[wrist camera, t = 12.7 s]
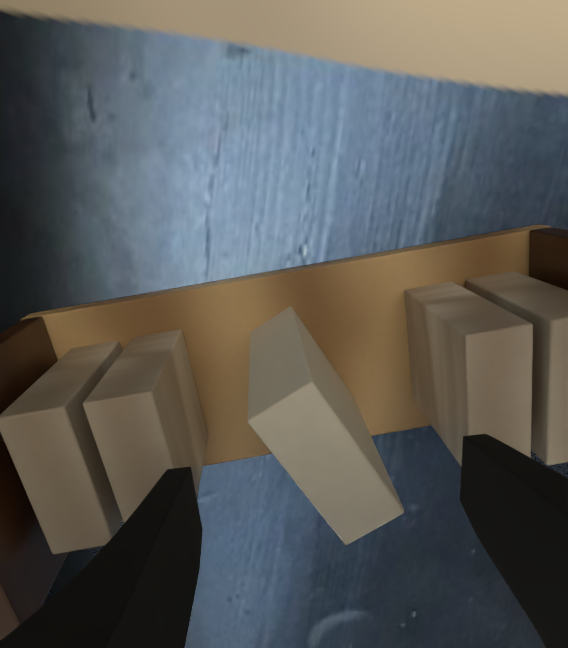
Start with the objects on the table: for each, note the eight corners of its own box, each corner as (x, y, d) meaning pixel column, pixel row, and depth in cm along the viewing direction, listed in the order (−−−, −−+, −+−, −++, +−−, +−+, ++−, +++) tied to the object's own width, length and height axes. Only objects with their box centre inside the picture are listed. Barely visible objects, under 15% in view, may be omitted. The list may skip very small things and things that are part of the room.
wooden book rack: (89, 476, 21) (-4, 645, 13) (29, 313, 18) (-128, 408, 11) (535, 397, 21) (691, 518, 13) (538, 223, 18) (734, 256, 11)
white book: (314, 421, 19) (345, 547, 13) (249, 331, 18) (246, 422, 11) (353, 397, 19) (405, 513, 13) (290, 305, 18) (312, 381, 11)
